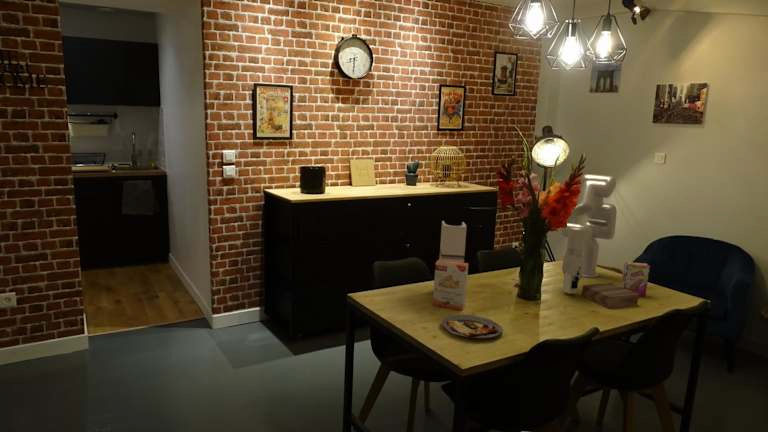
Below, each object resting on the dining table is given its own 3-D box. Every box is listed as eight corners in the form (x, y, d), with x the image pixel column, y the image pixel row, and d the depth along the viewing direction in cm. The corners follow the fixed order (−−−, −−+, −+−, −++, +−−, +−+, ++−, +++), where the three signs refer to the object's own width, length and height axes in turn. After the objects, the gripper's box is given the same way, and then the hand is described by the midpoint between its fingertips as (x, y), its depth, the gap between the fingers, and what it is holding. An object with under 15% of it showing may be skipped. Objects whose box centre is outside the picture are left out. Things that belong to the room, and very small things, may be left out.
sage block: (562, 290, 272) (564, 271, 270) (570, 289, 273) (572, 271, 271) (568, 293, 267) (571, 274, 265) (577, 293, 269) (579, 273, 267)
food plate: (513, 339, 211) (513, 330, 210) (460, 345, 202) (461, 336, 202) (480, 317, 234) (481, 310, 233) (432, 322, 226) (432, 314, 225)
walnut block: (581, 296, 269) (582, 285, 268) (609, 294, 275) (611, 282, 274) (607, 309, 252) (609, 296, 251) (637, 306, 259) (638, 294, 257)
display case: (461, 298, 256) (466, 226, 249) (438, 297, 256) (443, 225, 250) (458, 290, 267) (463, 222, 261) (437, 289, 267) (442, 221, 261)
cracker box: (432, 306, 244) (435, 261, 240) (435, 302, 249) (438, 258, 245) (462, 311, 239) (466, 266, 235) (465, 307, 245) (468, 262, 241)
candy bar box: (623, 295, 273) (627, 264, 270) (620, 292, 278) (624, 261, 275) (646, 296, 272) (650, 265, 269) (642, 293, 277) (646, 263, 274)
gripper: (557, 247, 273) (553, 281, 276) (579, 256, 257) (575, 292, 260) (569, 246, 275) (565, 280, 279) (592, 255, 259) (588, 291, 263)
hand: (570, 286), depth 269 cm, fingers closed on sage block, 5 cm apart
